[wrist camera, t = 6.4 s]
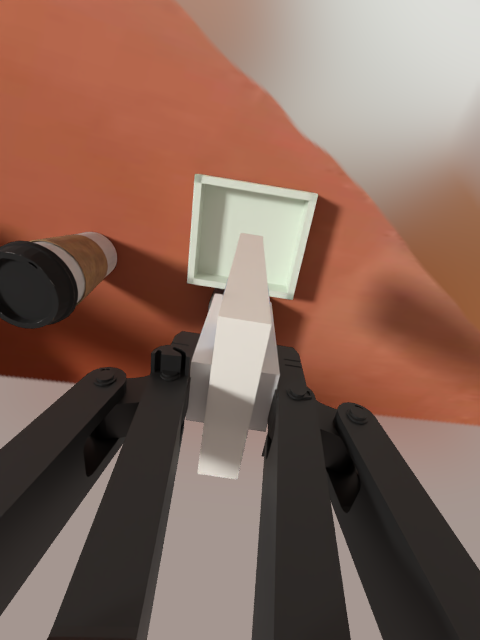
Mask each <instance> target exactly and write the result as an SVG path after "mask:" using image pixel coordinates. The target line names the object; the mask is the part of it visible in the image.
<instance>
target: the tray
mask: <svg viewBox="0 0 480 640" xmlns="http://www.w3.org/2000/svg"><path fill="white" fill-rule="evenodd" d="M317 198H318V194H316V193H313V192H307V191H301V190H295V189H289V188H283V187H277V186H271V185H265V184H259V183H253V182H246V181H240V180H234V179H228V178H222V177H216V176H210V175H204V174H195V180H194V194H193V207H192V221H191V235H190V249H189V262H188V276H187V283H188V284H195V285H201V286H207V287H214V288H220V289H225V286H226V283H227V279H228V277H229V274H230V270H231V266H232V263H233V259H234V255H235V252H236V248H237V244H238V240H239V237H240V233H246V234H252V235H258V236H263V244H264V254H265V264H266V274H267V283H268V288H269V296H271V297H278V298H284V299H291V300H293V296H294V292H295V288H296V284H297V280H298V275H299V271H300V267H301V263H302V259H303V255H304V251H305V247H306V243H307V239H308V234H309V230H310V226H311V222H312V218H313V214H314V210H315V206H316V202H317Z"/></svg>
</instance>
